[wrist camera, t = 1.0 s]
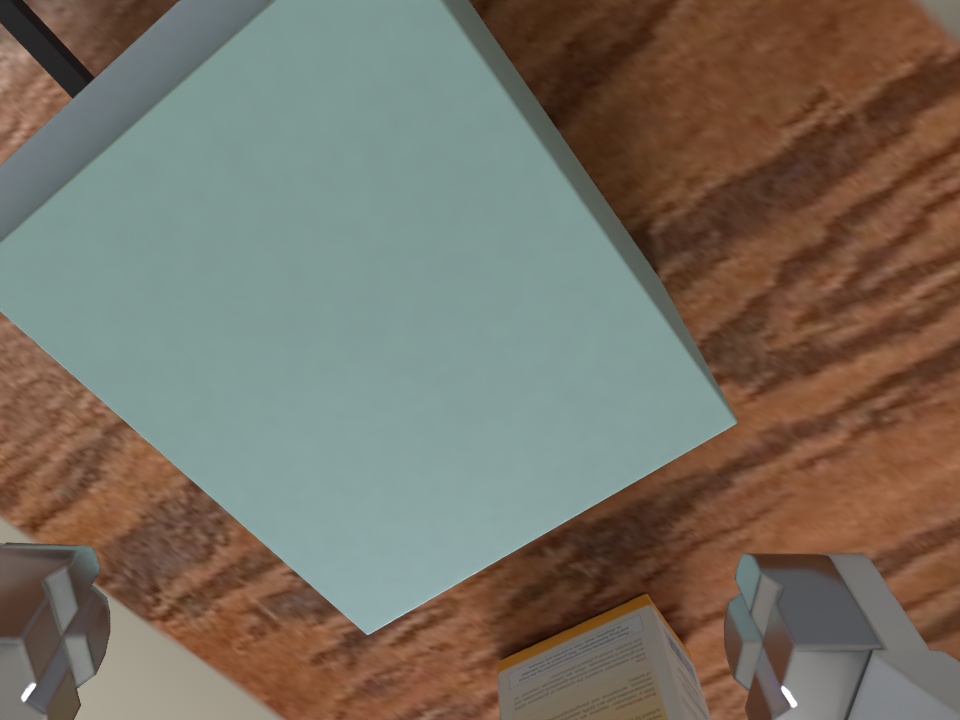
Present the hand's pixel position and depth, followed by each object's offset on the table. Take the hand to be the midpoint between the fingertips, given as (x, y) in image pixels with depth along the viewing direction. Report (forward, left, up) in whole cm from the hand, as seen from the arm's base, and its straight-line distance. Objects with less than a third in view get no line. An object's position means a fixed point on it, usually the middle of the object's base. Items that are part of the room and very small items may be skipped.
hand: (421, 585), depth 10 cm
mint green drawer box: (+2, 0, -20) cm, 20 cm away
